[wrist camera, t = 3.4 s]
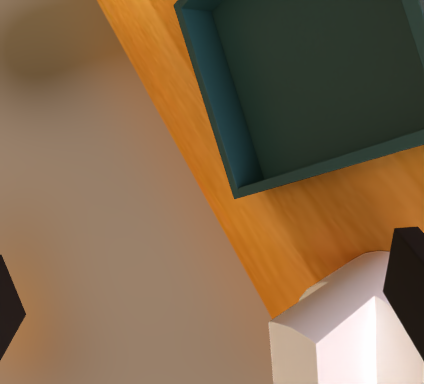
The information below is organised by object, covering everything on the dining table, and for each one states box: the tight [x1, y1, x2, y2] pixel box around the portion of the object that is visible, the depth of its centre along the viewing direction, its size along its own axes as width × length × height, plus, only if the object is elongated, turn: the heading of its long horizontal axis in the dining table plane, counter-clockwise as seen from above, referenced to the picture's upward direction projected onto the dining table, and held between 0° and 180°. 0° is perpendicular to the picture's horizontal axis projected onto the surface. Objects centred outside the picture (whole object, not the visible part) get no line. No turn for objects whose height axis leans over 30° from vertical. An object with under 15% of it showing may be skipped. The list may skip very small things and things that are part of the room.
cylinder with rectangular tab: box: [268, 251, 424, 384], centre depth 24 cm, size 9×9×12 cm
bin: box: [174, 0, 424, 199], centre depth 27 cm, size 18×18×4 cm
